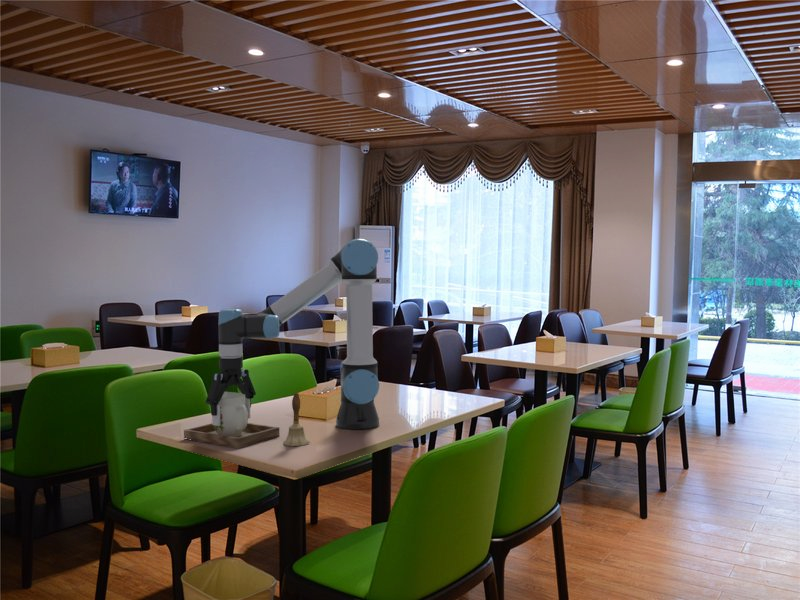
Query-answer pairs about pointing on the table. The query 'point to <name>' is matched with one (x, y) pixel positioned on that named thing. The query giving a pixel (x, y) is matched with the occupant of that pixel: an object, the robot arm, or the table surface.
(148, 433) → the table surface
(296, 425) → the hand bell
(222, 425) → the pitcher
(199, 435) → the tray
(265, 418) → the table surface
